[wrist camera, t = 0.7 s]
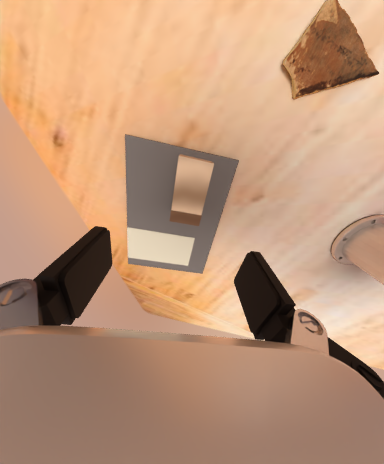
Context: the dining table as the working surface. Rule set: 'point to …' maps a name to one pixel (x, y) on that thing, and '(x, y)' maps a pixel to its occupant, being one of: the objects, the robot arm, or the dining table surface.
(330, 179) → the dining table surface
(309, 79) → the shard
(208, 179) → the tan tapered block
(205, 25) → the dining table surface
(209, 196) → the mat
